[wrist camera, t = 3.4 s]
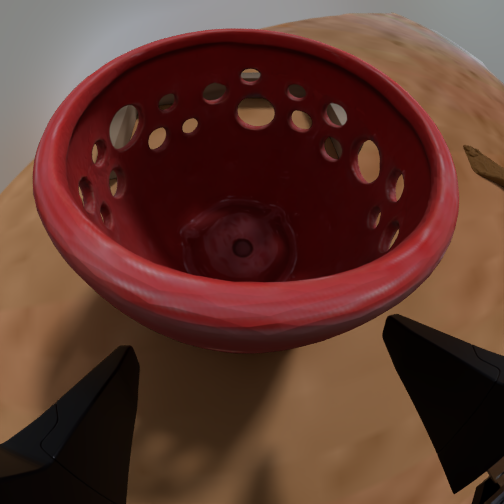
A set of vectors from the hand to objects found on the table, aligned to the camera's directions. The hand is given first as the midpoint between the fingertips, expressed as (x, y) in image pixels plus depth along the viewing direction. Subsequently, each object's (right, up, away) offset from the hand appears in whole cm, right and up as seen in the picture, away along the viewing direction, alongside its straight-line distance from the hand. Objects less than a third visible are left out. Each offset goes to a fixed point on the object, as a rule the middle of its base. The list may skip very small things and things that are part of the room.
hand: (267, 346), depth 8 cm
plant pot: (-1, +3, +9) cm, 9 cm away
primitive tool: (+36, +13, +16) cm, 42 cm away
